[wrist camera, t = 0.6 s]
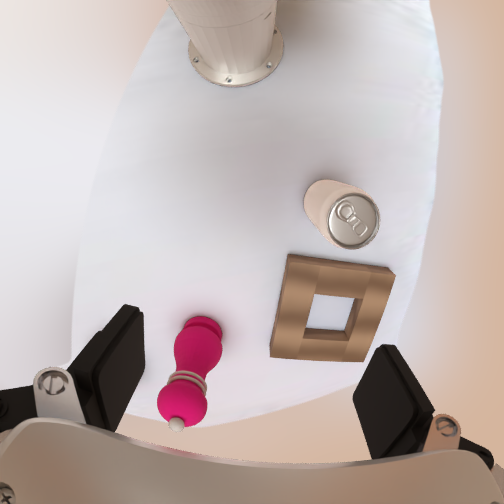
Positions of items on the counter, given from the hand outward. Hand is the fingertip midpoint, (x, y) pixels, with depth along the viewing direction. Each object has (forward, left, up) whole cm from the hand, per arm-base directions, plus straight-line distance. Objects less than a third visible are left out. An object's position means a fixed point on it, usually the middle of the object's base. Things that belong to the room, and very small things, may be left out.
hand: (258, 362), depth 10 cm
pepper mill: (+20, -6, -30) cm, 36 cm away
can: (-3, +9, -30) cm, 31 cm away
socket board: (+13, +13, -29) cm, 35 cm away
